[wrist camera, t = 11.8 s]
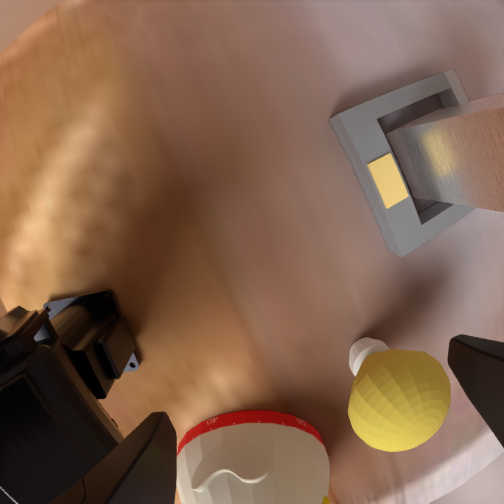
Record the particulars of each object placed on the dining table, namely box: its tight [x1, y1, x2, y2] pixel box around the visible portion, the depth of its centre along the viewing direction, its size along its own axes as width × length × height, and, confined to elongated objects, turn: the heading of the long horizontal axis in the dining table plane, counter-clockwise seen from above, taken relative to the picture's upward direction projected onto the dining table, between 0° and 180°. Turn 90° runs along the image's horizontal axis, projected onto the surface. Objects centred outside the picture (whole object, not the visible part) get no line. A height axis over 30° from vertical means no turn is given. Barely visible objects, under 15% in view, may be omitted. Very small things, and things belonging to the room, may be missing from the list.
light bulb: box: [348, 337, 451, 452], centre depth 18 cm, size 7×7×10 cm
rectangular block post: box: [386, 93, 504, 212], centre depth 14 cm, size 5×5×12 cm
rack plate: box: [329, 69, 477, 257], centre depth 19 cm, size 11×10×2 cm
